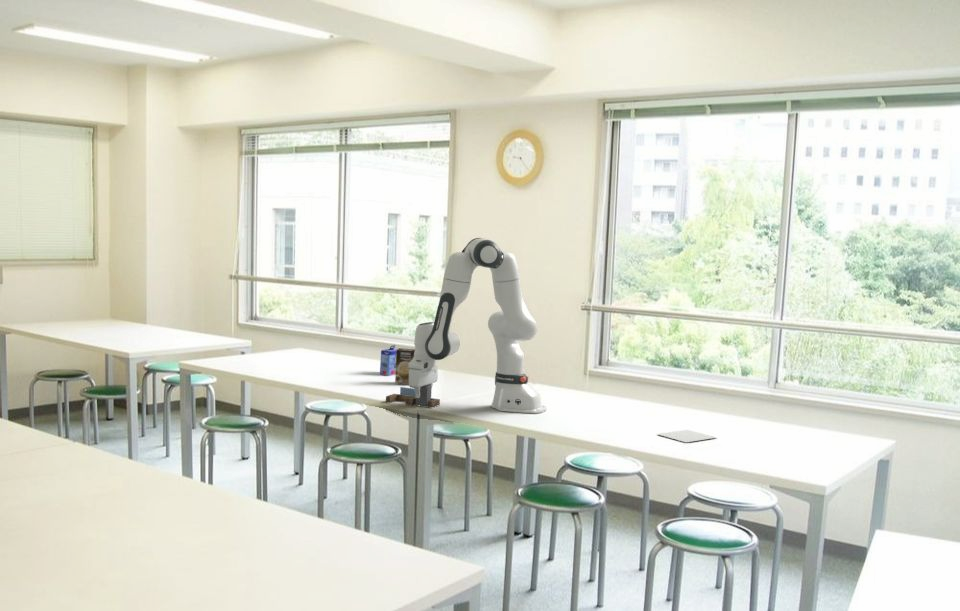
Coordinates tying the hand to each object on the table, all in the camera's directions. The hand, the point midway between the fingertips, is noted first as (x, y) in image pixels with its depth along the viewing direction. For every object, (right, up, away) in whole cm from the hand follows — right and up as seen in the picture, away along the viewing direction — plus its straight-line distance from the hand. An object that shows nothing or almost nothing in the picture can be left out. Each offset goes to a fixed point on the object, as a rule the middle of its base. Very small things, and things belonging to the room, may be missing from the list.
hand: (423, 396), depth 349 cm
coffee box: (-11, 0, +49) cm, 51 cm away
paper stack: (+97, -12, -43) cm, 107 cm away
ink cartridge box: (-21, +3, +75) cm, 78 cm away
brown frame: (-4, -3, +5) cm, 7 cm away
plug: (0, -4, +1) cm, 4 cm away
